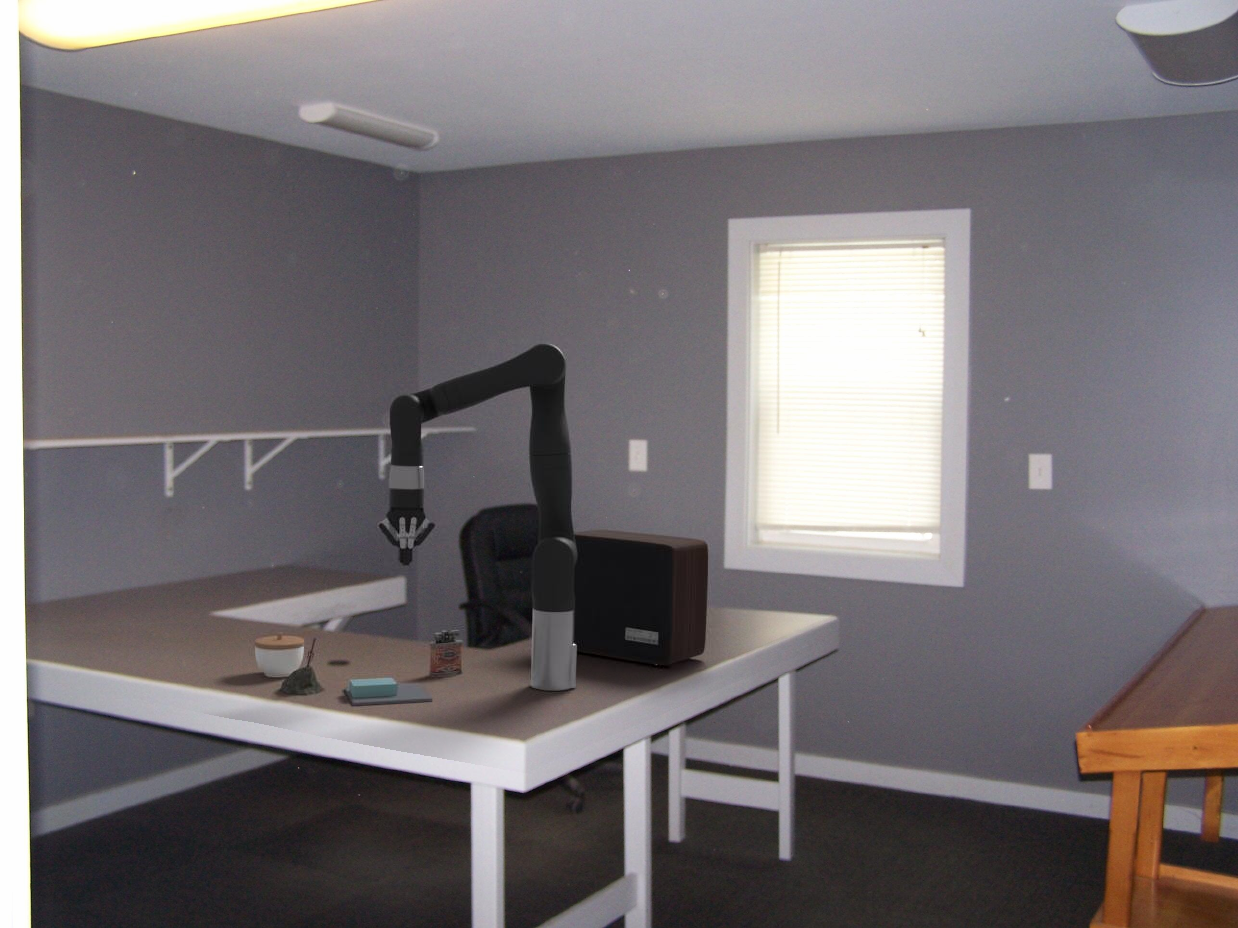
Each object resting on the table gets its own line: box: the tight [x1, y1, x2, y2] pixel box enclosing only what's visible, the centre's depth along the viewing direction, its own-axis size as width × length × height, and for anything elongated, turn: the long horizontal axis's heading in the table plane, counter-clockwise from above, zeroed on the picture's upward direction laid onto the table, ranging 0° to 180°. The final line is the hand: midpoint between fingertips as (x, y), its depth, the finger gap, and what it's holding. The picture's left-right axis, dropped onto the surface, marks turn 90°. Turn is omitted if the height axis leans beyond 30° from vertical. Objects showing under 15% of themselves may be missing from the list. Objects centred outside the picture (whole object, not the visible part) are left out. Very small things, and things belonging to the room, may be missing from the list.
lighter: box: [428, 629, 464, 678], centre depth 278 cm, size 8×3×10 cm, turn 126°
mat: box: [344, 682, 433, 707], centre depth 256 cm, size 16×14×1 cm
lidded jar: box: [254, 632, 305, 678], centre depth 273 cm, size 11×11×9 cm
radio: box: [574, 529, 709, 666], centre depth 305 cm, size 36×18×30 cm, turn 56°
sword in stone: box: [279, 637, 325, 697], centre depth 259 cm, size 10×8×12 cm
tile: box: [349, 677, 398, 698], centre depth 256 cm, size 2×6×9 cm
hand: (405, 564), depth 267 cm, fingers closed
